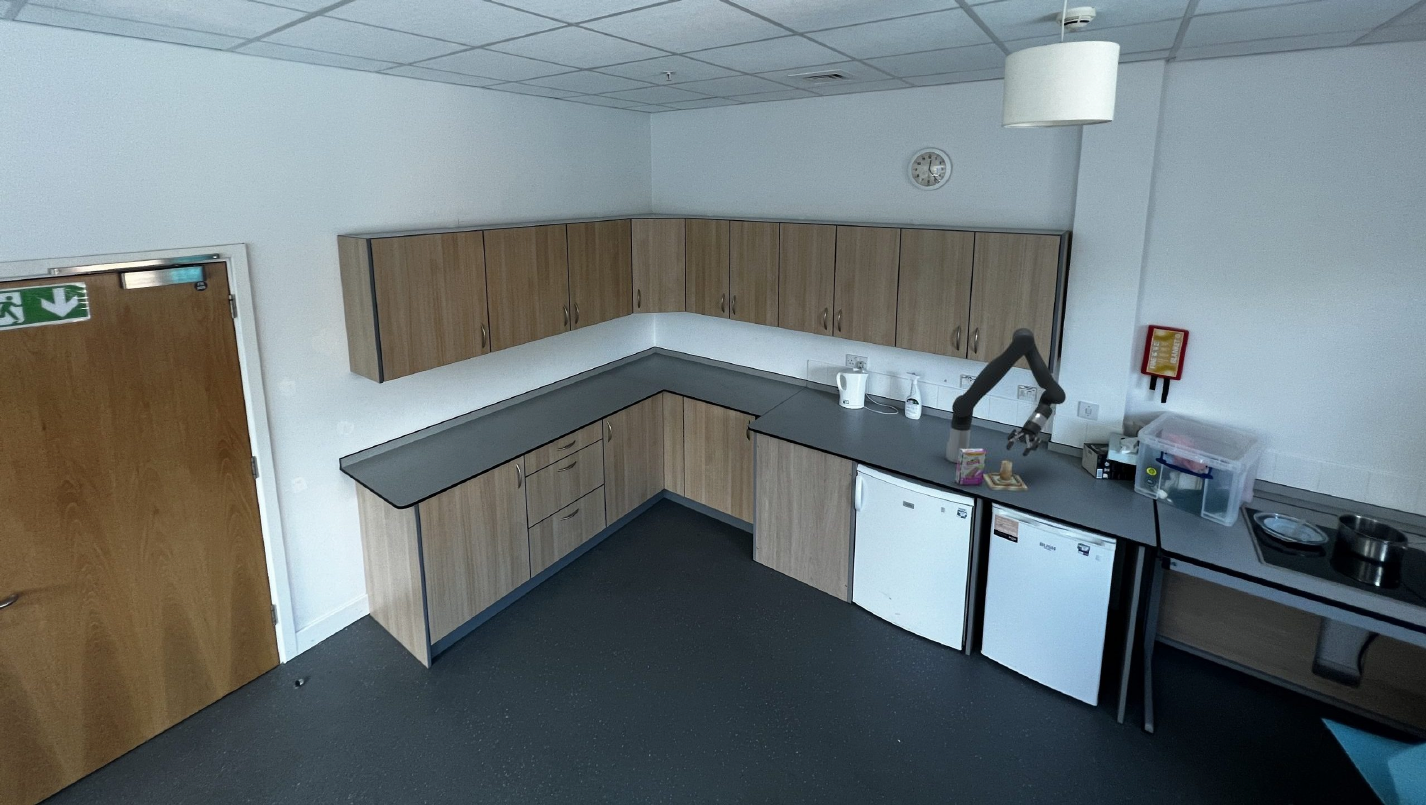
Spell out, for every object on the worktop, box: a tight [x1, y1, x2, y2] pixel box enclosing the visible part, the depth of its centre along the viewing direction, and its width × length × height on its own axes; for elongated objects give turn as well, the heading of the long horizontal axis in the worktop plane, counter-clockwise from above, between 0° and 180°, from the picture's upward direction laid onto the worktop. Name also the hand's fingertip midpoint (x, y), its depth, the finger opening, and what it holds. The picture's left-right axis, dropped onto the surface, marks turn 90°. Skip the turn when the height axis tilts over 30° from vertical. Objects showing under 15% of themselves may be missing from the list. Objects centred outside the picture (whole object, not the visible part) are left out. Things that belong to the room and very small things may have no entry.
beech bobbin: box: [997, 460, 1013, 483], centre depth 326 cm, size 6×6×9 cm
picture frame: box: [983, 472, 1028, 492], centre depth 328 cm, size 16×14×3 cm
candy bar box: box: [954, 448, 987, 486], centre depth 327 cm, size 11×5×16 cm, turn 92°
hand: (1015, 452), depth 326 cm, fingers open, 8 cm apart
